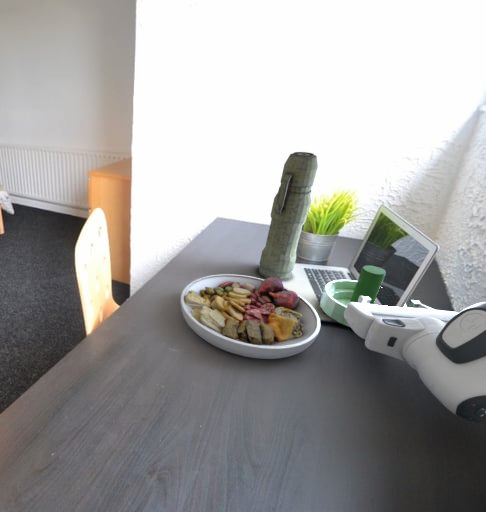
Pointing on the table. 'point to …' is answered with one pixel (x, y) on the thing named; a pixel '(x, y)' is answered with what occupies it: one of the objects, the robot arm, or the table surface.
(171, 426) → the table surface
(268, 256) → the thermos
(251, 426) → the table surface
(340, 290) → the bowl
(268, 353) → the bowl
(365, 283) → the green cylinder
